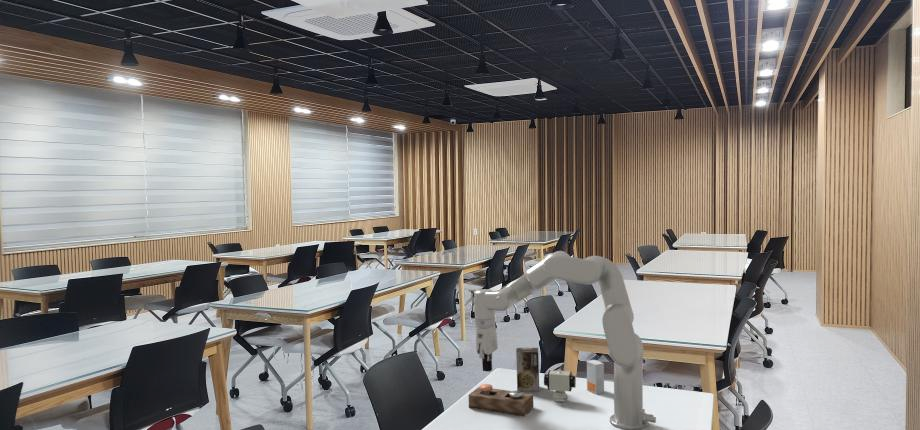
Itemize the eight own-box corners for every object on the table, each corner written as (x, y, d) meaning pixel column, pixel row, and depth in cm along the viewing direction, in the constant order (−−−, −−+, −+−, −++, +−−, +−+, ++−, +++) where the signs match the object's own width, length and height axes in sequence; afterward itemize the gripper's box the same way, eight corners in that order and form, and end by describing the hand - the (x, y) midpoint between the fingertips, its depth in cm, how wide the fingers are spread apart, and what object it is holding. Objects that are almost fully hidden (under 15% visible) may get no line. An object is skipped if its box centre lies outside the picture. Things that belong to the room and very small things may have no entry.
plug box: (533, 407, 225) (533, 394, 225) (524, 416, 216) (523, 403, 216) (479, 399, 235) (479, 386, 235) (468, 407, 226) (468, 394, 226)
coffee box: (539, 386, 249) (538, 347, 248) (539, 391, 243) (538, 351, 242) (516, 385, 250) (516, 347, 249) (516, 391, 244) (516, 351, 243)
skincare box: (586, 390, 243) (586, 360, 242) (595, 388, 245) (594, 359, 244) (595, 394, 237) (595, 364, 237) (604, 392, 239) (604, 363, 239)
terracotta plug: (494, 398, 229) (494, 385, 229) (489, 402, 225) (489, 388, 225) (483, 397, 232) (482, 383, 231) (477, 401, 227) (477, 387, 227)
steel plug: (524, 405, 224) (524, 391, 224) (519, 410, 220) (519, 395, 220) (512, 403, 226) (512, 390, 226) (507, 408, 222) (507, 394, 222)
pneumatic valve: (575, 404, 228) (574, 372, 227) (544, 401, 231) (543, 370, 231) (576, 399, 233) (576, 368, 233) (546, 396, 236) (545, 366, 236)
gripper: (486, 327, 219) (488, 377, 219) (502, 318, 232) (504, 366, 233) (467, 326, 222) (470, 375, 223) (484, 317, 235) (486, 364, 236)
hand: (487, 370), depth 228 cm, fingers closed
